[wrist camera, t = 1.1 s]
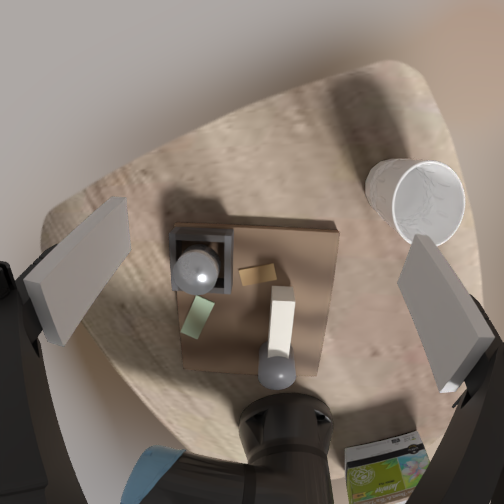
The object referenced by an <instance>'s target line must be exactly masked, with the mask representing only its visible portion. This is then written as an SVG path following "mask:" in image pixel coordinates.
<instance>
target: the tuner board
mask: <svg viewBox="0 0 504 504" xmlns="http://www.w3.org/2000/svg"><path fill="white" fill-rule="evenodd" d="M339 237H340V233H339V231H338V230H327V229H310V228H293V227H274V226H254V225H232V224H207V223H179V222H176V223H175V224H174V229H173V230H172V231H171V232H170V233H169V250H170V268H171V284H172V290H173V291H177V303H178V316H179V328H180V339H181V350H182V359H183V369H188V370H198V371H208V372H220V373H233V374H249V375H258V367H259V349H260V347H261V346H262V344H263V343H265V342H266V341H268V332H269V319H270V305H271V291H272V286H288V287H293V291H294V297H295V309H294V318H293V327H292V335H291V343H290V344H291V346H292V347H293V352H294V361H295V371H296V376H317V372H318V367H319V362H320V357H321V352H322V346H323V341H324V336H325V330H326V325H327V319H328V313H329V307H330V301H331V294H332V288H333V281H334V274H335V267H336V260H337V253H338V245H339ZM196 244H202V245H206V246H209V247H210V248H212V249H213V250H214V251H215V252H216V253H217V254H218V256H219V258H220V262H221V268H220V272H219V275H218V278H217V281H216V283H215V285H214V287H213V288H212V289H211V290H210V291H209V292H208V293H206V294H203V295H191V294H188V293H186V292H184V291H183V290H181V289H180V288H179V287H178V285H177V284H176V282H175V280H174V276H173V269H174V266H175V264H176V262H177V261H178V259H179V258H180V256H181V255H182V253H183V252H184V251H185V250H186V249H187V248H188V247H190V246H192V245H196Z"/></svg>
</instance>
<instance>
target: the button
mask: <svg viewBox="0 0 504 504" xmlns="http://www.w3.org/2000/svg"><path fill="white" fill-rule="evenodd" d="M220 268H221V262H220V258H219V256H218V254H217V253H216V252H215V251H214V250H213V249H212V248H210V247H209V246H206V245H202V244H196V245H192V246H190V247H188V248H187V249H186V250H185V251H184V252H183V253H182V255H181V256H180V258H179V259H178V261H177V262H176V264H175V266H174V269H173V276H174V280H175V282H176V284H177V285H178V287H179V288H180V289H181V290H183V291H184V292H186V293H188V294H191V295H203V294H206V293H208V292H209V291H210V290H211V289H212V288H213V287H214V285H215V283H216V281H217V278H218V275H219V272H220Z"/></svg>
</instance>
